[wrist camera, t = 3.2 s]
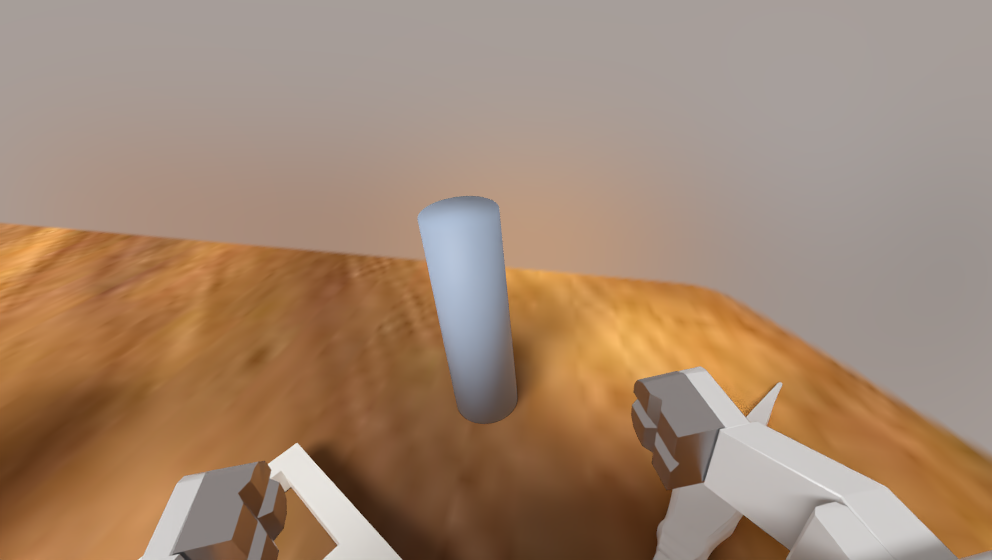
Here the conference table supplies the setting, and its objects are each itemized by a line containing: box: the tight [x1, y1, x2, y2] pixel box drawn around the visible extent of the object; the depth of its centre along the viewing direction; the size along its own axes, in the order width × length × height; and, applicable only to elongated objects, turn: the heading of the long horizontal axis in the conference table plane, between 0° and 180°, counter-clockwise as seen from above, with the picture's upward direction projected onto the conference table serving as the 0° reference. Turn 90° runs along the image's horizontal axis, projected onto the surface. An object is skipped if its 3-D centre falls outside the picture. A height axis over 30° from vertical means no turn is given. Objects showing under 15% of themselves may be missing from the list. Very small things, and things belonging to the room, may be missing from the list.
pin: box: [418, 196, 518, 424], centre depth 23 cm, size 4×4×12 cm
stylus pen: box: [653, 382, 782, 560], centre depth 20 cm, size 15×3×2 cm, turn 135°
